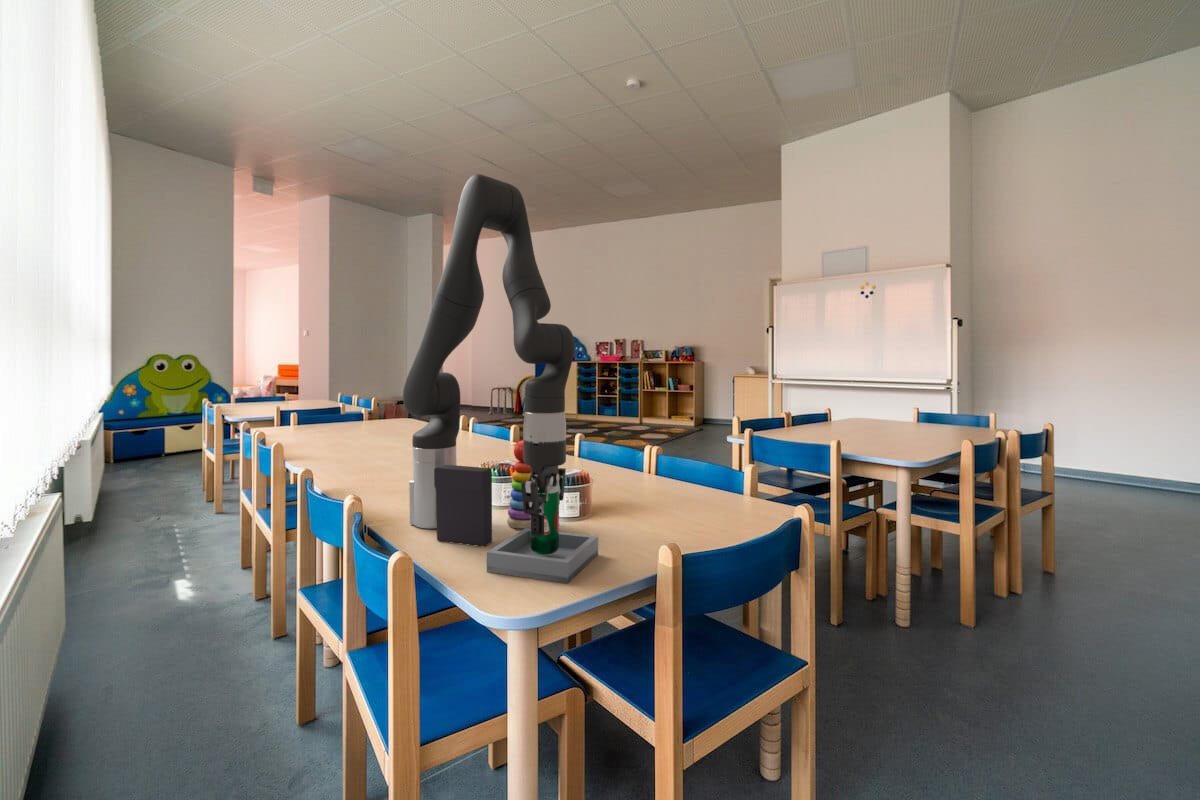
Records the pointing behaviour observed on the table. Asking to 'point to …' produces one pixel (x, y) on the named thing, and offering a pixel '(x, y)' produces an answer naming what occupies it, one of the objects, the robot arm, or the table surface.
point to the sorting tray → (543, 557)
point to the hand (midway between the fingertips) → (544, 530)
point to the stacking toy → (519, 492)
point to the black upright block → (464, 504)
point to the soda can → (548, 525)
